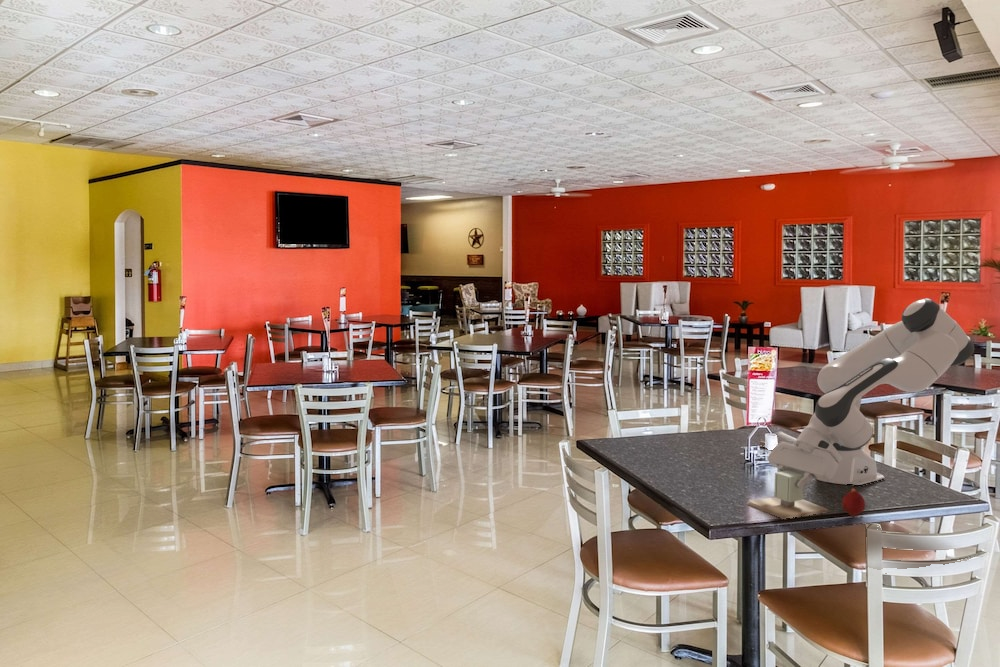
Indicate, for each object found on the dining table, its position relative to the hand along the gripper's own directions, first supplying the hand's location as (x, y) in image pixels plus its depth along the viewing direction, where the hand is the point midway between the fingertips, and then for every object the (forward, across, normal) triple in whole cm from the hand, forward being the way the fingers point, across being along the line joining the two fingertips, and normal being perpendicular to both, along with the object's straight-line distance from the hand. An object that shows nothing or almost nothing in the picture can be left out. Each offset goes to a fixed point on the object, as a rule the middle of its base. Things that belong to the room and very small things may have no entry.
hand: (787, 483), depth 212 cm
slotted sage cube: (+3, 0, +4) cm, 4 cm away
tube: (-34, -42, +44) cm, 70 cm away
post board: (+5, 0, +6) cm, 7 cm away
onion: (-2, +13, +13) cm, 19 cm away
